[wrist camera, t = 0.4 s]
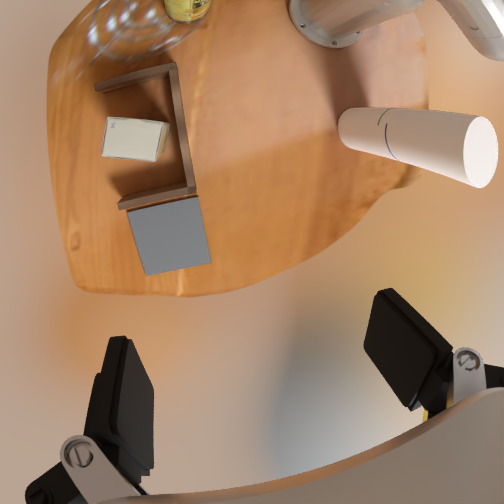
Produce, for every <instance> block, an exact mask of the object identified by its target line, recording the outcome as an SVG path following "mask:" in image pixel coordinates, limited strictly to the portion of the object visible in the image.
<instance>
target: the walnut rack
mask: <svg viewBox="0 0 504 504" xmlns="http://www.w3.org/2000/svg"><path fill="white" fill-rule="evenodd" d="M167 76H170V83H171V90H172V97H173V104H174V111H175V117H176V123H177V130H178V136H179V142H180V148H181V153H182V159H183V164H184V170H185V175H186V181H187V182H183V183H178V184H173V185H169V186H164V187H160V188H156V189H151V190H147V191H143V192H139V193H135V194H131V195H127V196H123V198H122V199H121V200H120V201H119V202H118V203H117V204H118V208H119V210H122V209H126V208H131V207H135V206H139V205H143V204H147V203H152V202H156V201H160V200H165V199H169V198H174V197H179V196H184V195H188V194H193V193H196V183H195V177H194V172H193V166H192V160H191V155H190V149H189V143H188V137H187V130H186V124H185V118H184V111H183V104H182V98H181V91H180V83H179V76H178V68H177V65H176V62H174V63H169V64H164V65H159V66H155V67H151V68H147V69H143V70H139V71H135V72H131V73H128V74H124V75H121V76H118V77H114V78H111V79H108V80H105V81H102V82H99V83H96V84H95V91H98V92H101V93H107V92H110V91H113V90H117V89H120V88H123V87H127V86H130V85H134V84H138V83H142V82H146V81H150V80H154V79H158V78H163V77H167Z"/></svg>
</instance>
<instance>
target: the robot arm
mask: <svg viewBox="0 0 504 504" xmlns="http://www.w3.org/2000/svg"><path fill="white" fill-rule="evenodd" d="M423 1H424V0H290V2H289V14H290V17H291V20H292V22H293V24H294V25H295V27H296V28H297V29H298V30H299V32H300V33H301V34H302V35H304V36H305V37H306V38H307V39H309V40H310V41H312V42H313V43H316V44H318V45H320V46H323V47H327V48H334V49H335V48H343V47H347V46H349V45H352V44H353V43H355V42H356V41H357V40H358V39H359V37H360V36H361V33H362V30H364V29H366V28H369V27H371V26H374V25H376V24H379V23H382V22H385V21H387V20H390V19H393V18H396V17H399V16H402V15H405V14H408V13H411V12H413V11H414V10H416V9H418V8H419V7H420V5H421V4H422V3H423ZM437 1H439V2H440V3H441V5H442V6H443V7H444V8H445V10H446V11H447V12H448V13H449V15H450V16H451V17H452V19H453V20H454V21H455V22H456V24H457V25H458V27H459V28H460V29H461V31H462V32H463V33H464V35H465V36H466V38H467V39H468V40H469V42H470V43H471V44H472V46H473V47H474V48H475V49H476V50H477V51H478V52H479V53H481V54H482V55H483V56H485V57H487V58H489V59H492V60H496V61H504V0H437ZM301 26H302V27H303V28H302V27H301ZM332 43H333V44H332ZM364 349H365V352H366V353H367V354H368V356H369V357H370V359H371V360H372V361H373V363H374V364H375V366H376V367H377V368H378V370H379V371H380V373H381V374H382V375H383V377H384V378H385V380H386V381H387V383H388V384H389V385H390V387H391V388H392V390H393V391H394V393H395V394H396V396H397V397H398V398H399V400H400V401H401V403H402V404H403V405H404V406H405V407H408V408H409V410H410V411H413V410H415V409H417V408H419V407H420V406H421V405H422V406H423V407H424V416H423V423H422V424H420V425H418V426H416V427H414V428H412V429H410V430H409V431H407V432H405V433H403V434H401V435H399V436H397V437H395V438H393V439H391V440H389V441H386V442H384V443H382V444H380V445H378V446H376V447H373V448H371V449H369V450H366V451H364V452H362V453H359V454H357V455H354V456H352V457H349V458H346V459H344V460H341V461H338V462H335V463H333V464H330V465H327V466H324V467H321V468H317V469H314V470H311V471H308V472H304V473H301V474H297V475H293V476H289V477H286V478H281V479H277V480H273V481H269V482H264V483H259V484H254V485H249V486H242V487H236V488H230V489H222V490H213V491H205V492H195V493H181V494H159V495H150V494H149V493H148V492H147V491H146V490H145V489H144V488H143V487H142V486H141V485H140V483H141V476H149V475H150V469H153V468H154V450H153V417H154V415H153V414H154V389H153V386H152V383H151V381H150V379H149V377H148V375H147V373H146V371H145V369H144V366H143V364H142V362H141V360H140V357H139V355H138V353H137V351H136V348H135V346H134V343H133V341H132V340H131V339H127V337H126V336H115V337H110V339H109V342H108V346H107V350H106V354H105V357H104V361H103V366H102V370H101V373H97V374H96V376H95V379H94V384H93V388H92V393H91V397H90V402H89V407H88V412H87V417H86V423H85V428H84V434H83V435H76V436H73V437H70V438H68V439H67V440H66V441H65V442H64V444H63V445H62V447H61V450H60V459H61V462H59V463H58V464H57V465H55V466H54V467H52V468H51V469H50V470H49V471H47V472H46V473H44V474H43V475H42V476H40V477H39V478H38V479H36V480H35V481H33V482H32V483H31V484H30V485H29V486H28V487H27V489H26V492H25V500H26V503H27V504H504V368H503V367H498V366H492V365H487V364H484V362H483V359H482V357H481V355H480V354H479V353H478V352H476V351H475V350H473V349H471V348H464V347H463V348H459V349H458V350H456V351H455V353H453V352H452V349H453V347H452V346H451V345H450V344H449V343H448V342H447V341H446V340H445V339H444V338H443V337H442V335H441V334H440V333H439V332H437V330H436V329H434V327H433V326H431V325H430V323H429V322H427V321H426V320H425V319H424V318H423V317H422V316H421V315H420V314H419V313H418V312H417V311H416V310H415V309H414V308H413V307H412V306H411V305H410V304H409V303H408V302H407V301H406V300H405V299H403V298H402V297H401V296H400V295H399V294H398V293H397V292H396V291H395V290H394V289H392V288H388V289H384V290H380V291H378V292H377V295H375V297H374V300H373V305H372V309H371V314H370V319H369V323H368V328H367V332H366V336H365V340H364Z"/></svg>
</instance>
